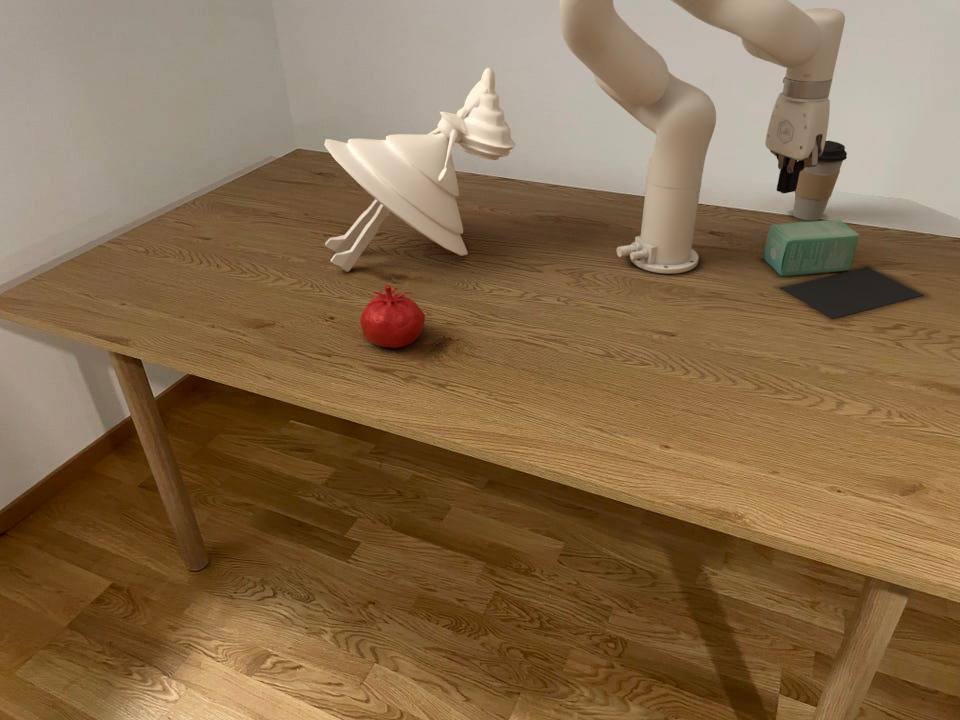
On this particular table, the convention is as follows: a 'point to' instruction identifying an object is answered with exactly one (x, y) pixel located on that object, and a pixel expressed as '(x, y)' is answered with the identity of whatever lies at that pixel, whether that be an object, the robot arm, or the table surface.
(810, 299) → the mat
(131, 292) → the table surface
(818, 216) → the coffee cup
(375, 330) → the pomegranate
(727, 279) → the table surface
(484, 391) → the table surface
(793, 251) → the box
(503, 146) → the figurine
